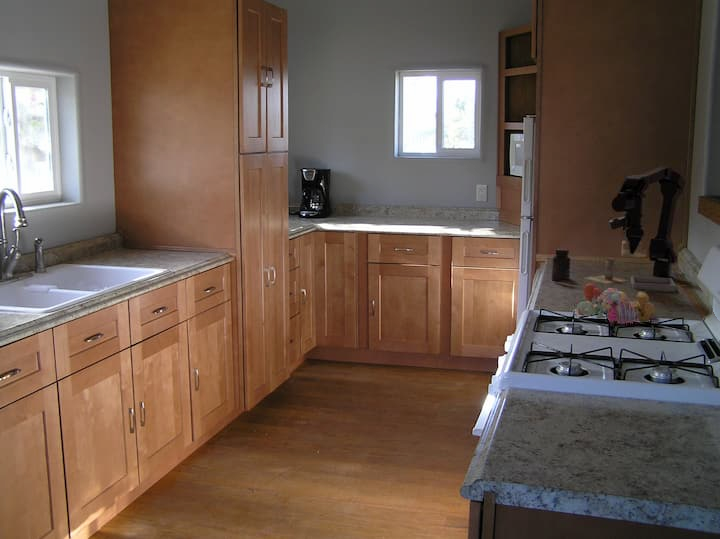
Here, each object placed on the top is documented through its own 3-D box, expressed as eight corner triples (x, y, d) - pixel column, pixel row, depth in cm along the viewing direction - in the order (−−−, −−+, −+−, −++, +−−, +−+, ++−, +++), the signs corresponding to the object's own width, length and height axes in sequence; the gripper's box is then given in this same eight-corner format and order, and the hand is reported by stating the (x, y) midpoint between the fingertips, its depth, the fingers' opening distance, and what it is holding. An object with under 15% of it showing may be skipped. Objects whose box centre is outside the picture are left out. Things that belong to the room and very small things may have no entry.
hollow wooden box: (621, 254, 295) (622, 240, 294) (644, 255, 293) (645, 241, 292) (622, 256, 289) (623, 243, 288) (646, 257, 287) (647, 244, 286)
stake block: (603, 277, 306) (605, 255, 304) (628, 282, 296) (629, 260, 294) (581, 280, 300) (582, 257, 298) (605, 285, 290) (607, 262, 288)
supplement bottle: (571, 282, 295) (573, 251, 293) (553, 282, 295) (555, 250, 293) (567, 279, 302) (569, 248, 300) (549, 278, 302) (551, 248, 300)
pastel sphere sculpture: (654, 311, 251) (656, 282, 249) (660, 328, 228) (663, 297, 227) (573, 306, 257) (574, 278, 256) (571, 322, 235) (573, 292, 233)
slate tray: (630, 282, 295) (631, 276, 295) (671, 285, 291) (671, 278, 291) (632, 290, 282) (633, 283, 281) (675, 292, 278) (675, 285, 277)
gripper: (609, 207, 299) (607, 247, 302) (612, 212, 281) (609, 255, 284) (640, 208, 296) (637, 249, 299) (645, 213, 278) (642, 256, 281)
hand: (631, 252), depth 291 cm, fingers closed on hollow wooden box, 6 cm apart
